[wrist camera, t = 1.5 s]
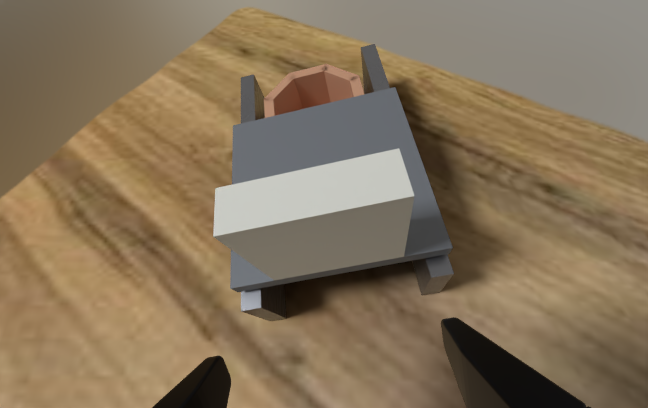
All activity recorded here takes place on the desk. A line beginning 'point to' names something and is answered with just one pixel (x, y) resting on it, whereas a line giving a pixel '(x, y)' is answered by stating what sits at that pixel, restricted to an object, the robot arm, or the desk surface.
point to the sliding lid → (327, 194)
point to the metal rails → (272, 298)
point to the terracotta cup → (311, 89)
